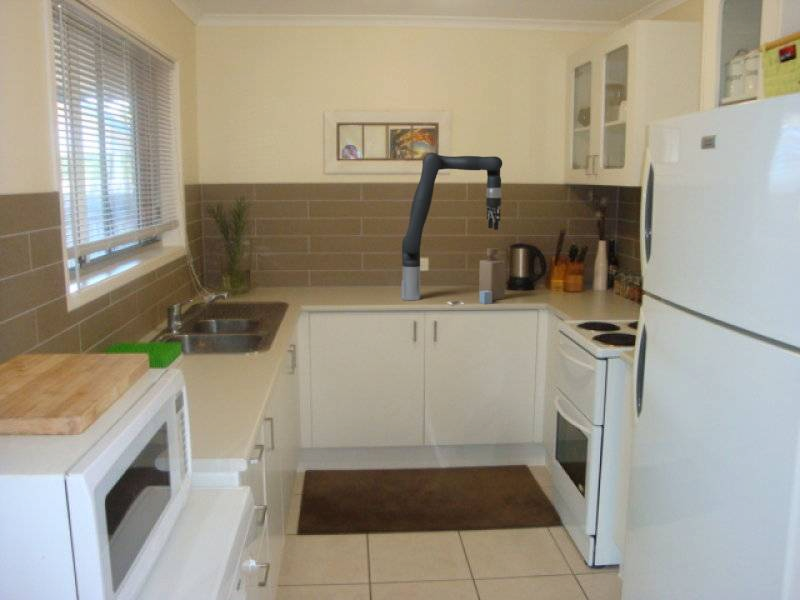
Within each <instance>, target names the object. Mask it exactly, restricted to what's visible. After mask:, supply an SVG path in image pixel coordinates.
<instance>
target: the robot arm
mask: <svg viewBox="0 0 800 600" xmlns="http://www.w3.org/2000/svg"><path fill="white" fill-rule="evenodd" d="M502 168H503V161H502V158H501V157H499V156H495V155H493V156H479V155H477V156H476V155H460V156H447V155H440V154H437V153H436V152H428V153H427V154H425V156H424V157H423V158H422V168H421V174H420V178H419V181H418V184H417V187H416V190H415V192H414V195H413V198H412V203H411V208H410V211H409V212H410V214H409V223H408V228H407V231H406V234H405V236H404V237H403V239H402V242H401V262H402V263H401V265H402V269H401V271H402V273H401V274H402V277H401V278H402V279H401V283H400V284H401V285H400V286H401V289H400V290H401V299H402V300H404V301H419V300H421V245H422V244H421V243H422V236H423V232H424V231H423V229H424V228H425V227H424V226H425V223H426V222H427V218H428V215H429V213H430V209H431V205H432V200H433V195H434V188H435V187H434V186H435V182H436V178H437V175H438V173H439V171H440V170H451V169H452V170H461V171H486V174H487V180H486V192H485V193H486V194H485V195H486V197H485V198H486V199H485V201H486V202H485V203H486V204H485V206H486V207H487V208H486V220H487V222H488V223H487V228H488V229H493V230H495V231H497V230H499V223H500V222H501V209H500V208H499V207H501V206H502V177H501V169H502Z"/></svg>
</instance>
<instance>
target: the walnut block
mask: <svg viewBox="0 0 800 600" xmlns="http://www.w3.org/2000/svg"><path fill="white" fill-rule="evenodd" d="M486 260H489V261H498V260H499V248H497V247H490V248H489V247H487V248H486Z"/></svg>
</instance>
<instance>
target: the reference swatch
mask: <svg viewBox="0 0 800 600" xmlns="http://www.w3.org/2000/svg"><path fill="white" fill-rule="evenodd" d="M446 303H447V304H448V305H450V306H459V305H460V306H461V305H463V306H464V305H465V303H464V302H462V301H461V300H460V301H459V300H455V301H453V300H452V301H447V302H446Z"/></svg>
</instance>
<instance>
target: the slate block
mask: <svg viewBox="0 0 800 600" xmlns="http://www.w3.org/2000/svg"><path fill="white" fill-rule="evenodd" d="M492 303H493V300H492V292H491V291H488V290H486V291H480V297H479V304H483V305H488V304H489V305H490V304H492Z"/></svg>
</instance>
